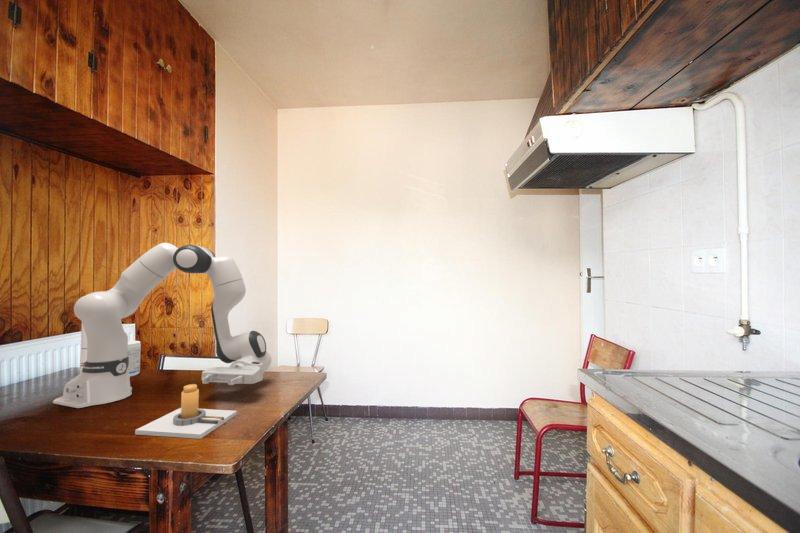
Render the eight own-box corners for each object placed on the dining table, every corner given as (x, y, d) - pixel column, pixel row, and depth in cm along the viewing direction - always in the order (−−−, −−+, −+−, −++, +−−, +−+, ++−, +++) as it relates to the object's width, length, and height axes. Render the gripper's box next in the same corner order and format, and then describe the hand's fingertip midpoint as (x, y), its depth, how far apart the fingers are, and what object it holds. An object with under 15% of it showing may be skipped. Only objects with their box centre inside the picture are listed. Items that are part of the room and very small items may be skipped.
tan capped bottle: (177, 422, 96) (177, 388, 96) (188, 416, 100) (189, 383, 100) (190, 423, 95) (191, 388, 96) (201, 416, 100) (202, 383, 100)
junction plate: (135, 434, 91) (135, 424, 91) (180, 411, 107) (180, 402, 107) (200, 438, 88) (200, 428, 89) (237, 414, 104) (237, 406, 104)
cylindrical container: (87, 378, 142) (90, 320, 143) (75, 377, 144) (77, 320, 145) (105, 373, 149) (107, 318, 150) (93, 372, 151) (95, 318, 152)
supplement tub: (111, 375, 147) (113, 342, 147) (138, 371, 153) (139, 339, 154) (112, 380, 140) (113, 345, 140) (140, 375, 146) (141, 342, 147)
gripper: (216, 361, 125) (189, 371, 111) (266, 363, 122) (244, 374, 109) (216, 377, 125) (188, 390, 111) (266, 380, 122) (244, 393, 109)
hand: (216, 382), depth 110 cm, fingers open, 8 cm apart
